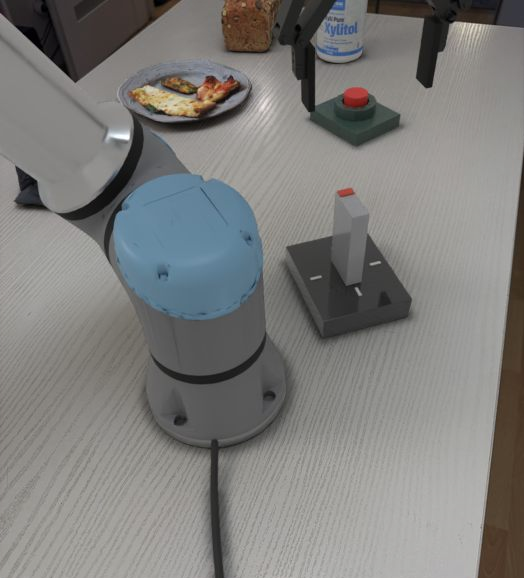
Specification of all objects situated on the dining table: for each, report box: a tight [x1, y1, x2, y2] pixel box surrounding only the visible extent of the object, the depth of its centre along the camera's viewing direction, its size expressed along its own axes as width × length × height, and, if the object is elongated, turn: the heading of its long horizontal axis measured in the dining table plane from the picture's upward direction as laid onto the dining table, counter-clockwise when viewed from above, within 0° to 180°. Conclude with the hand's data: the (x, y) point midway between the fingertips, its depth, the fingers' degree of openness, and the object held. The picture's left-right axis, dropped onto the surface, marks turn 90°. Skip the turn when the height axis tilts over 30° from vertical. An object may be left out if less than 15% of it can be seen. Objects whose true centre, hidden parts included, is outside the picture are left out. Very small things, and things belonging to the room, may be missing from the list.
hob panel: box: [285, 232, 413, 339], centre depth 68 cm, size 14×11×3 cm
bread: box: [220, 0, 282, 53], centre depth 118 cm, size 19×11×10 cm, turn 170°
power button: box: [343, 86, 369, 107], centre depth 92 cm, size 4×4×2 cm
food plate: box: [116, 58, 253, 124], centre depth 103 cm, size 25×23×4 cm
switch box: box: [309, 92, 401, 147], centre depth 94 cm, size 12×10×4 cm
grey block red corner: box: [331, 187, 371, 286], centre depth 63 cm, size 5×2×10 cm, turn 17°
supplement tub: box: [315, 0, 369, 64], centre depth 107 cm, size 10×10×15 cm
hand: (366, 94), depth 60 cm, fingers open, 13 cm apart
